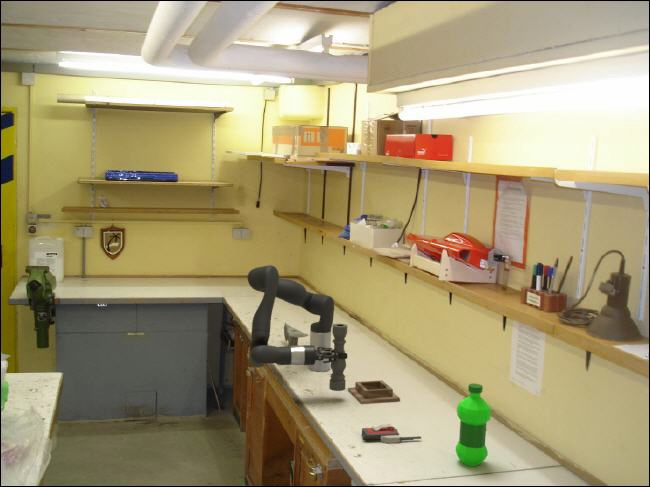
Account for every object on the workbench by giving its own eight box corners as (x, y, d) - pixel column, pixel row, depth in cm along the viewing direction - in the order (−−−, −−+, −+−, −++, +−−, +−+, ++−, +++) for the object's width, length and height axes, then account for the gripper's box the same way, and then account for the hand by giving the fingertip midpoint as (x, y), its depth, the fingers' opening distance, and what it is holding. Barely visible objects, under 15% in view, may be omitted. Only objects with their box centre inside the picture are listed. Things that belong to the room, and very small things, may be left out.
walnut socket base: (348, 390, 295) (348, 380, 295) (385, 388, 300) (385, 378, 299) (361, 403, 280) (361, 393, 280) (399, 401, 285) (400, 390, 284)
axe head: (274, 342, 366) (274, 322, 365) (292, 341, 370) (293, 321, 368) (290, 356, 341) (291, 335, 340) (309, 355, 344) (310, 334, 343)
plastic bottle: (455, 454, 236) (460, 378, 233) (489, 459, 233) (494, 383, 230) (451, 466, 226) (456, 388, 223) (486, 471, 223) (491, 392, 220)
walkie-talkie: (364, 446, 241) (422, 442, 245) (364, 433, 240) (422, 430, 244) (357, 435, 249) (413, 432, 254) (358, 423, 249) (414, 420, 253)
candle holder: (336, 384, 287) (338, 322, 284) (348, 388, 283) (351, 325, 280) (326, 388, 283) (328, 325, 279) (338, 392, 279) (341, 328, 275)
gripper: (305, 351, 271) (350, 350, 275) (299, 340, 285) (342, 339, 288) (304, 370, 272) (349, 369, 276) (298, 359, 286) (341, 358, 289)
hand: (345, 354), depth 282 cm, fingers closed on candle holder, 3 cm apart
